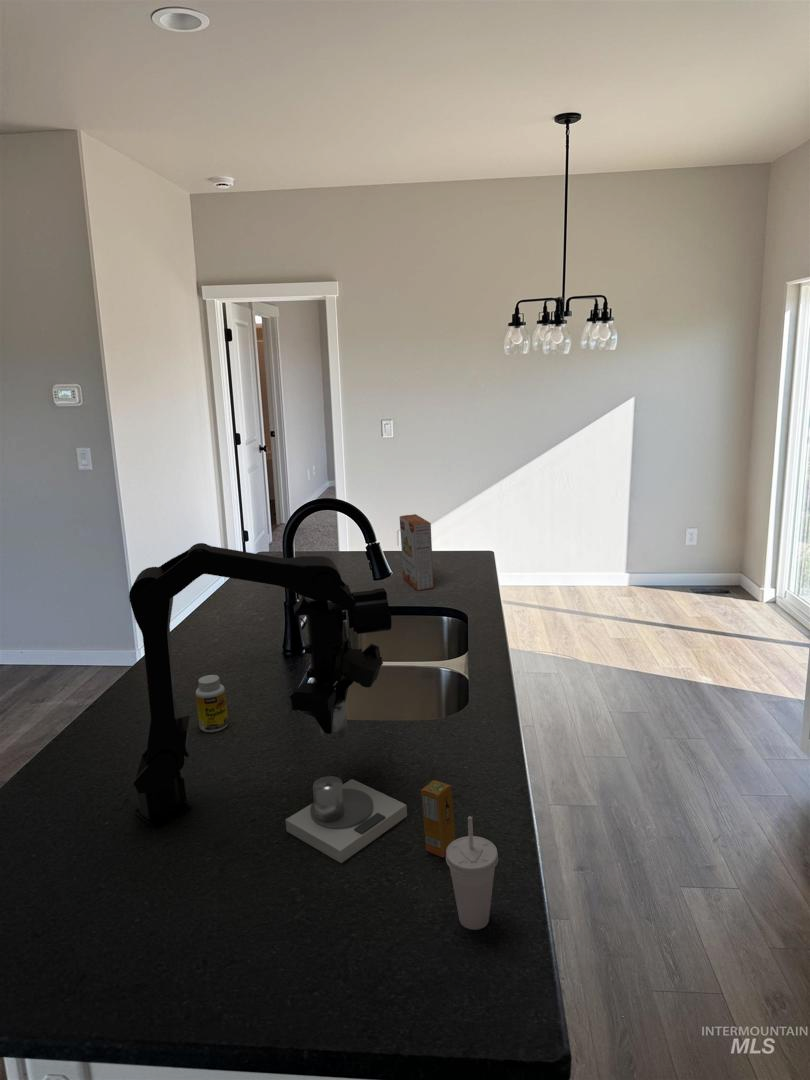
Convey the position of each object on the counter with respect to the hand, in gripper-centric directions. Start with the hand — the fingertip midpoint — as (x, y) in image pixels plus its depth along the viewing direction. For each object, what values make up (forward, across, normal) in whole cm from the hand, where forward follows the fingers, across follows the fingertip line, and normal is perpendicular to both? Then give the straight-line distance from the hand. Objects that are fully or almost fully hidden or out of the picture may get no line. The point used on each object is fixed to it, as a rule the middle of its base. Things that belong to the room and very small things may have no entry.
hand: (333, 726), depth 122 cm
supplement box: (+11, -13, -20) cm, 26 cm away
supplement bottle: (+11, +15, +32) cm, 37 cm away
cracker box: (+11, +112, +15) cm, 113 cm away
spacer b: (+1, 0, 0) cm, 1 cm away
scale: (+11, -10, -5) cm, 15 cm away
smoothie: (+11, -25, -28) cm, 39 cm away
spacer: (+8, -12, -3) cm, 15 cm away
